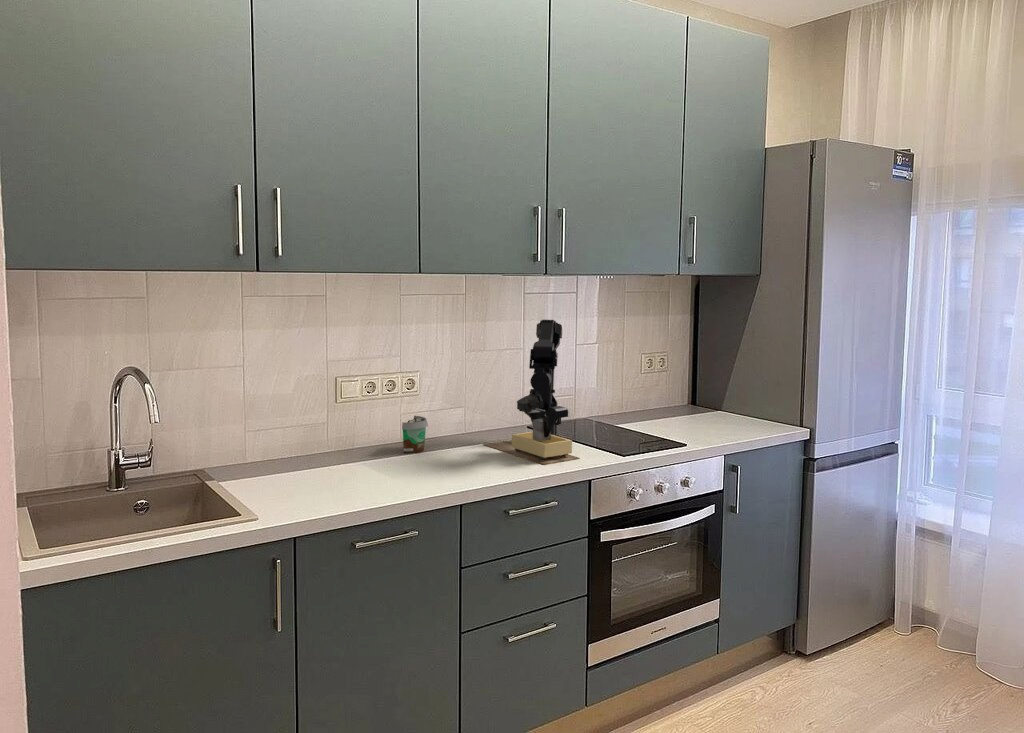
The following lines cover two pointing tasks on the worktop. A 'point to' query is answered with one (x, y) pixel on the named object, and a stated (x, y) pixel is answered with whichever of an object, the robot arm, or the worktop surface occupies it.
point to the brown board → (507, 447)
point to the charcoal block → (539, 430)
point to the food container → (414, 435)
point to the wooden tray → (541, 445)
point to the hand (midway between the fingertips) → (541, 436)
